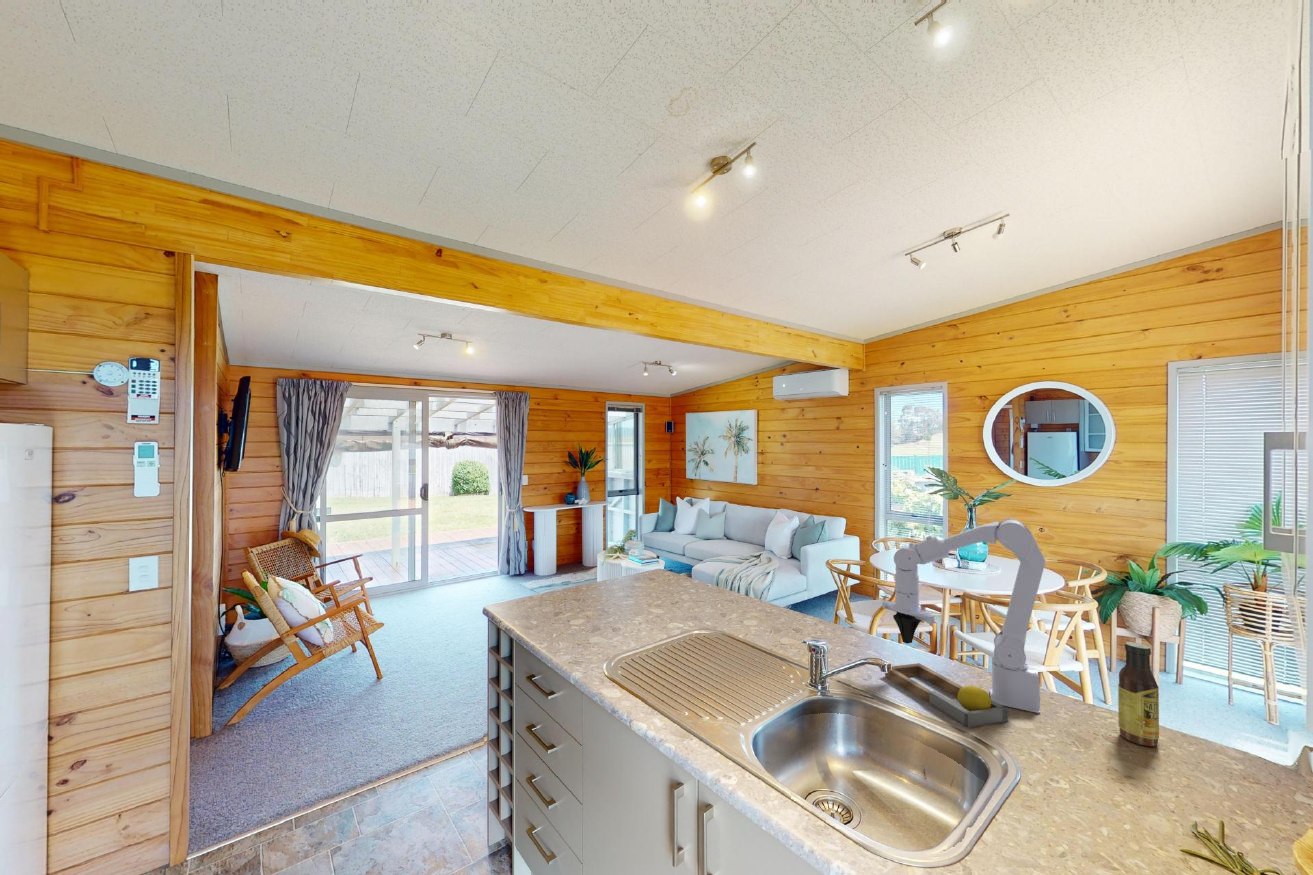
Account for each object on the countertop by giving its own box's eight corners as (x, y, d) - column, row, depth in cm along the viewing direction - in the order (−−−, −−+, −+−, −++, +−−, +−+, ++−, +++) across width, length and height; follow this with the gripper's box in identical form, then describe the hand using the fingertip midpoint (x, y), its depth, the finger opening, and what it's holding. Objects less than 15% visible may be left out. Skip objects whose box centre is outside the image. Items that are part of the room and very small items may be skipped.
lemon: (961, 716, 119) (994, 720, 112) (946, 697, 119) (979, 700, 112) (968, 697, 122) (1001, 700, 115) (954, 679, 122) (986, 681, 116)
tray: (929, 704, 122) (929, 691, 122) (966, 698, 124) (966, 686, 124) (968, 728, 111) (968, 714, 111) (1007, 721, 114) (1007, 708, 114)
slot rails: (885, 676, 137) (885, 667, 137) (919, 672, 139) (919, 663, 139) (929, 704, 122) (929, 693, 122) (966, 698, 124) (966, 688, 124)
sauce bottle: (1151, 751, 103) (1149, 653, 103) (1113, 736, 108) (1111, 642, 109) (1165, 743, 106) (1163, 647, 106) (1126, 728, 111) (1125, 637, 112)
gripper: (941, 596, 132) (942, 649, 132) (894, 583, 145) (894, 631, 145) (923, 600, 129) (924, 653, 128) (876, 586, 142) (877, 635, 142)
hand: (907, 642), depth 136 cm, fingers closed
